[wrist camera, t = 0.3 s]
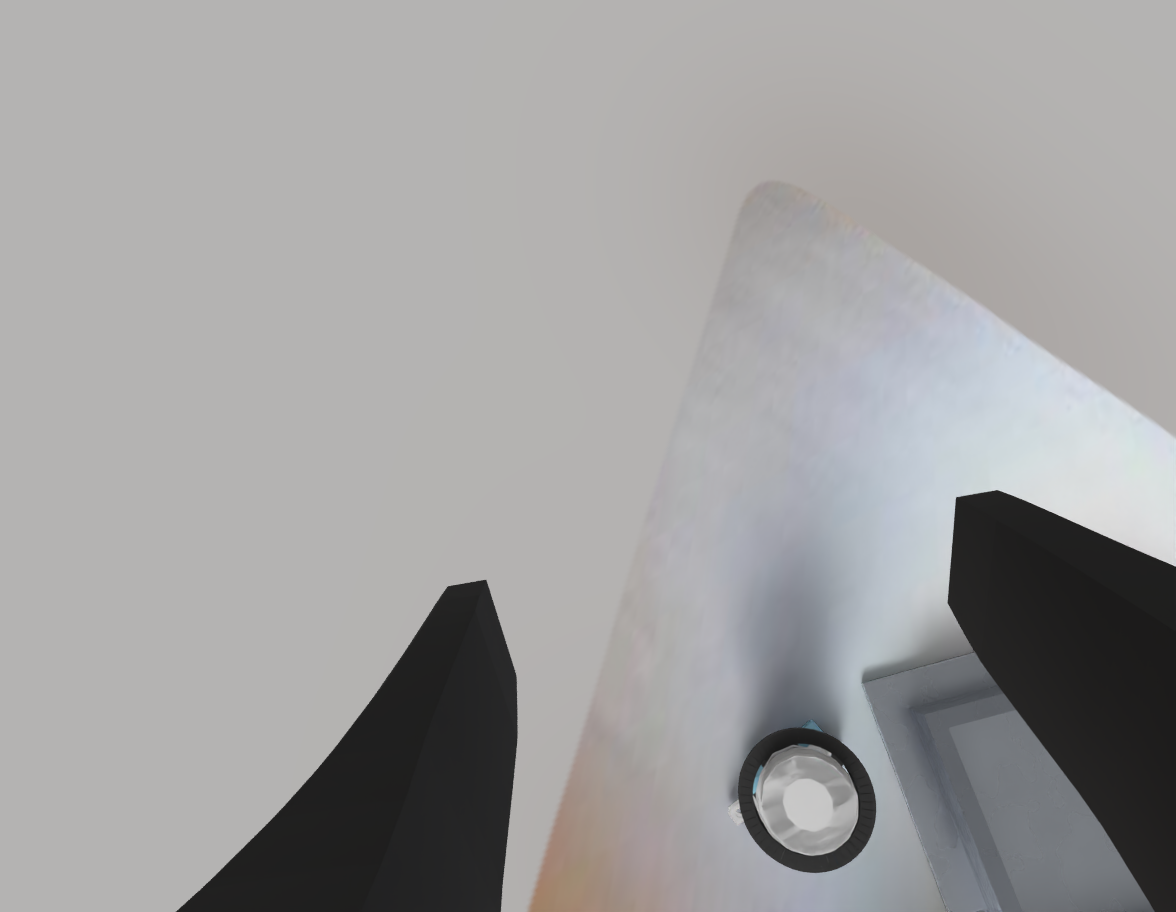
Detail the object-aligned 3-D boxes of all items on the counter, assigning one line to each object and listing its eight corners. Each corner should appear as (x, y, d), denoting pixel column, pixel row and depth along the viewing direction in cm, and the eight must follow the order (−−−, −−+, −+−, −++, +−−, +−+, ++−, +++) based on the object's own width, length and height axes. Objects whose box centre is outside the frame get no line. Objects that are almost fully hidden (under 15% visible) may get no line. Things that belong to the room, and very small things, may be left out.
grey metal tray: (1340, 960, 31) (1416, 1001, 27) (993, 1034, 32) (1024, 1081, 29) (1156, 601, 35) (1201, 597, 32) (861, 683, 37) (874, 688, 34)
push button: (766, 856, 36) (778, 935, 27) (697, 767, 38) (685, 810, 28) (865, 772, 36) (912, 821, 27) (792, 686, 38) (811, 703, 28)
